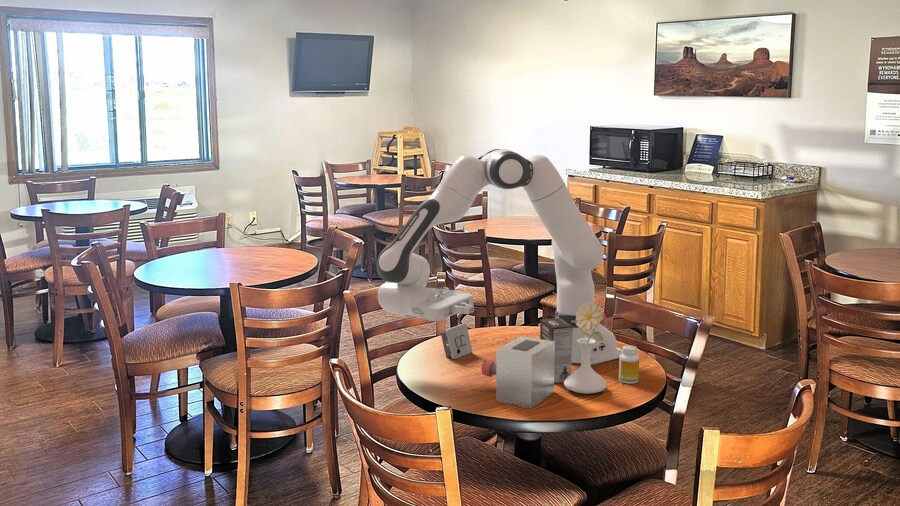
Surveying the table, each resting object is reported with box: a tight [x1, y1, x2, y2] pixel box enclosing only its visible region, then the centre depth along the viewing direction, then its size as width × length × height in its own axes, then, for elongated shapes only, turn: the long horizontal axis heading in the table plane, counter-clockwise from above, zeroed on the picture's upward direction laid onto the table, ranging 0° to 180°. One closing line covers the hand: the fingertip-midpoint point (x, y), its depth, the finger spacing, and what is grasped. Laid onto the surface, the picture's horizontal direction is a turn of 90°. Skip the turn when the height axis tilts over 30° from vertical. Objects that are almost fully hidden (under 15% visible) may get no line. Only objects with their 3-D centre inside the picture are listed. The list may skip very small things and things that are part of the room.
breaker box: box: [495, 335, 555, 409], centre depth 219 cm, size 10×14×14 cm
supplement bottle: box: [618, 344, 640, 385], centre depth 231 cm, size 5×5×10 cm
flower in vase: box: [563, 301, 608, 395], centre depth 222 cm, size 13×11×25 cm
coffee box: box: [539, 317, 573, 384], centre depth 233 cm, size 9×6×16 cm
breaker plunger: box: [481, 358, 496, 378], centre depth 222 cm, size 10×4×4 cm, turn 59°
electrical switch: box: [440, 323, 473, 360], centre depth 255 cm, size 9×5×9 cm, turn 141°
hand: (471, 310), depth 228 cm, fingers closed
